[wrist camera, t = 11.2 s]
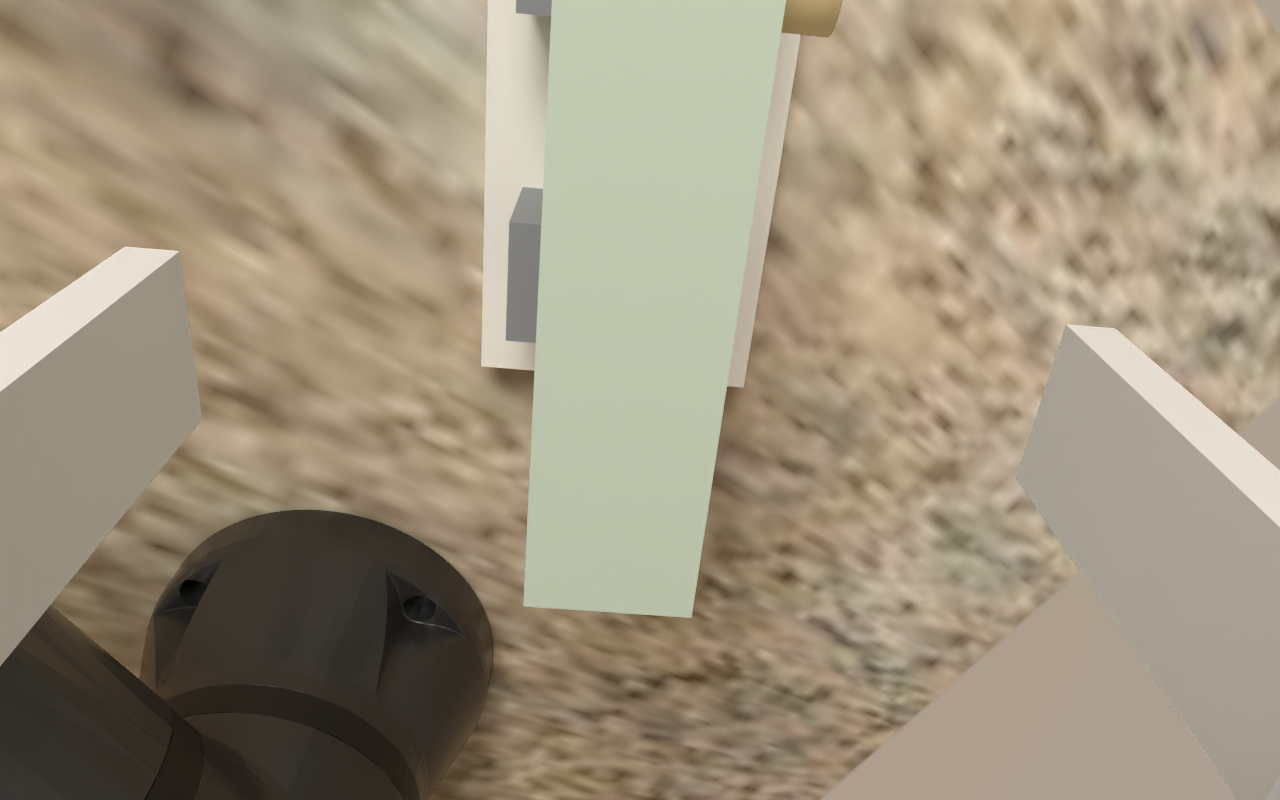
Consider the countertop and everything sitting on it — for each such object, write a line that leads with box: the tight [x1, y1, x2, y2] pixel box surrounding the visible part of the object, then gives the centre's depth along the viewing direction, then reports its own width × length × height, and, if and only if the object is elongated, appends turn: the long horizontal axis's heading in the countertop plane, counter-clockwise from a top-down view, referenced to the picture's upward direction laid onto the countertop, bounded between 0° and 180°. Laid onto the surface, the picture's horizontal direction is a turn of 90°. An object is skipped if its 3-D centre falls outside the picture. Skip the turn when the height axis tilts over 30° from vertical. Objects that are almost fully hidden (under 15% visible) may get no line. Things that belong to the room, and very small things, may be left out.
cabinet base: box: [481, 0, 801, 388], centre depth 31 cm, size 20×10×6 cm, turn 175°
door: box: [523, 0, 842, 618], centre depth 24 cm, size 14×5×17 cm, turn 175°
